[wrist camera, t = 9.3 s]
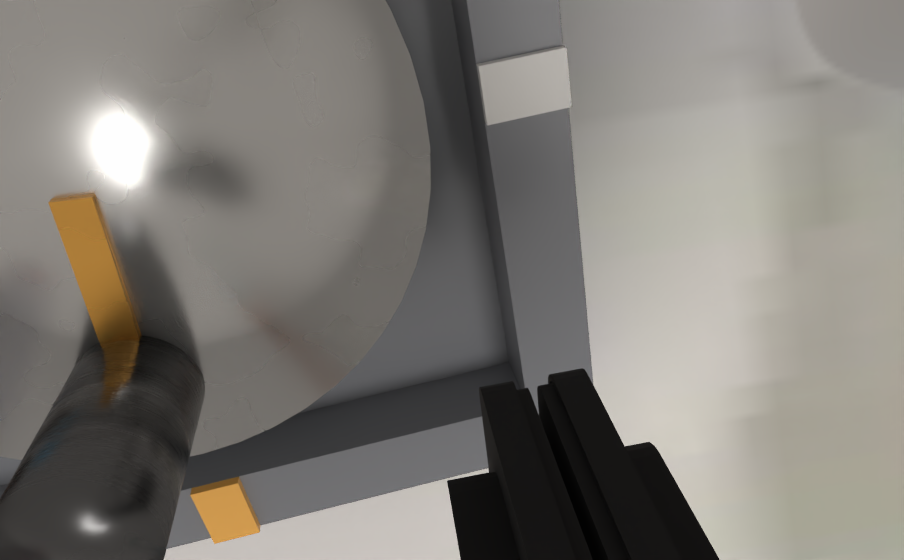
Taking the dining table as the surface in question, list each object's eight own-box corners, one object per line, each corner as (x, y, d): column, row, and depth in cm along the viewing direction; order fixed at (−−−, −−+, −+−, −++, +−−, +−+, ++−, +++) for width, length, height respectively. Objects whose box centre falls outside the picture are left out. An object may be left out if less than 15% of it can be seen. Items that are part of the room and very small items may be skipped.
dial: (384, -260, 12) (436, -415, 7) (440, 370, 19) (490, 562, 13) (-498, -223, 11) (-1414, -388, 5) (-104, 452, 17) (-311, 709, 12)
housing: (-776, -339, 11) (-1203, -440, 8) (458, -530, 12) (504, -682, 9) (-84, 531, 20) (-154, 637, 17) (562, 373, 22) (601, 445, 19)
